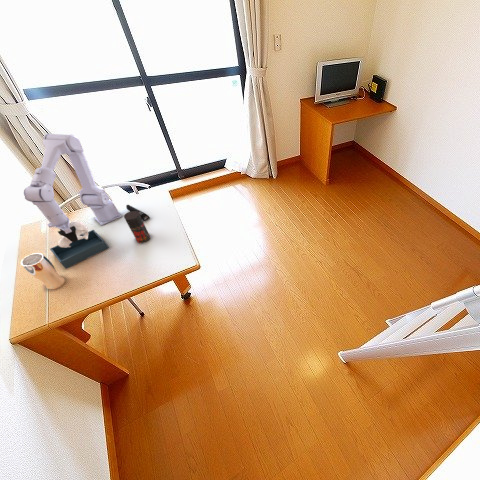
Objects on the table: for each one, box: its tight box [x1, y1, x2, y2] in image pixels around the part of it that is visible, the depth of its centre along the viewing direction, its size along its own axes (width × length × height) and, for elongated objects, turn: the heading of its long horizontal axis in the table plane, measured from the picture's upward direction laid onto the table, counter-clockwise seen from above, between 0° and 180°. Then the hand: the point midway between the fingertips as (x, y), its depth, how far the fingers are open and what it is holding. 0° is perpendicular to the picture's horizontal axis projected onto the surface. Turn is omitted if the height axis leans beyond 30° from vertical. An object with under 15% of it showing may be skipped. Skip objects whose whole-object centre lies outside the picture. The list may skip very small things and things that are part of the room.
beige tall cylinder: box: [20, 252, 66, 290], centre depth 108 cm, size 7×7×15 cm
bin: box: [49, 229, 109, 270], centre depth 124 cm, size 17×11×4 cm, turn 141°
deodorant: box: [123, 211, 151, 244], centre depth 129 cm, size 6×6×15 cm
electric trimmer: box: [125, 204, 151, 222], centre depth 146 cm, size 4×16×3 cm, turn 58°
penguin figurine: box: [57, 220, 89, 248], centre depth 119 cm, size 6×8×12 cm
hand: (71, 236), depth 120 cm, fingers closed on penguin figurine, 6 cm apart
